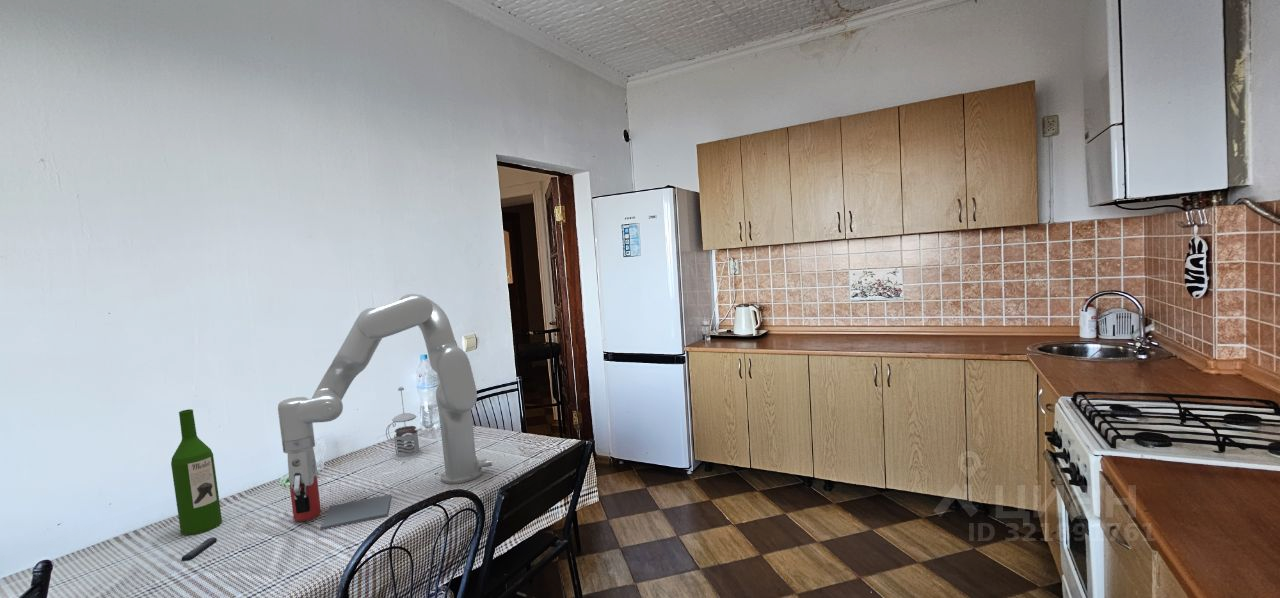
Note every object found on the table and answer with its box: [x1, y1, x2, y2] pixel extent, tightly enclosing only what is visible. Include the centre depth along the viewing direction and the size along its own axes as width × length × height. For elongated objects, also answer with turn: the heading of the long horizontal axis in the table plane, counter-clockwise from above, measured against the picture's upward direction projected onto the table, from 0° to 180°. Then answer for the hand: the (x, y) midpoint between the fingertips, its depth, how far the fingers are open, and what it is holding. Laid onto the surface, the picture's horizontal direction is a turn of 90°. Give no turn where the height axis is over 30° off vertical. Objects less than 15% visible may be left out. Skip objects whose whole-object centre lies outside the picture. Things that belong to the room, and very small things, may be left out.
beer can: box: [289, 476, 322, 523], centre depth 154 cm, size 7×7×12 cm
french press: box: [385, 386, 424, 461], centre depth 200 cm, size 10×12×25 cm
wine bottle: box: [170, 408, 223, 536], centre depth 152 cm, size 9×9×32 cm
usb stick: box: [180, 536, 218, 562], centre depth 139 cm, size 10×3×2 cm, turn 3°
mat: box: [320, 494, 392, 531], centre depth 155 cm, size 16×14×1 cm
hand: (306, 506), depth 154 cm, fingers closed on beer can, 6 cm apart
